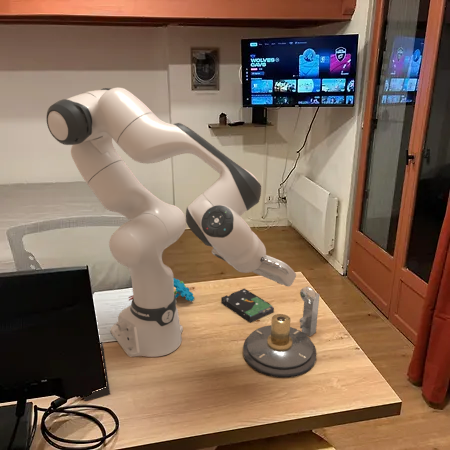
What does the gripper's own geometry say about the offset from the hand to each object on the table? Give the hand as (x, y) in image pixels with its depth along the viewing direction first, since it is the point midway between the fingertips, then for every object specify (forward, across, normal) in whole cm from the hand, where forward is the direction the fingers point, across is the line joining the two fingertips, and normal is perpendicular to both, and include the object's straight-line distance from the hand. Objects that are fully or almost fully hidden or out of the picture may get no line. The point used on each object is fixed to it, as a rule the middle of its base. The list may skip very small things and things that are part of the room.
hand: (265, 274), depth 114 cm
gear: (+25, +37, +13) cm, 46 cm away
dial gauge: (+29, -6, +6) cm, 30 cm away
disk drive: (+31, +17, +6) cm, 36 cm away
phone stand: (-6, +24, +44) cm, 51 cm away
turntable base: (+20, -4, +15) cm, 26 cm away
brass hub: (+18, -4, +12) cm, 23 cm away
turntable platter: (+19, -4, +13) cm, 24 cm away
